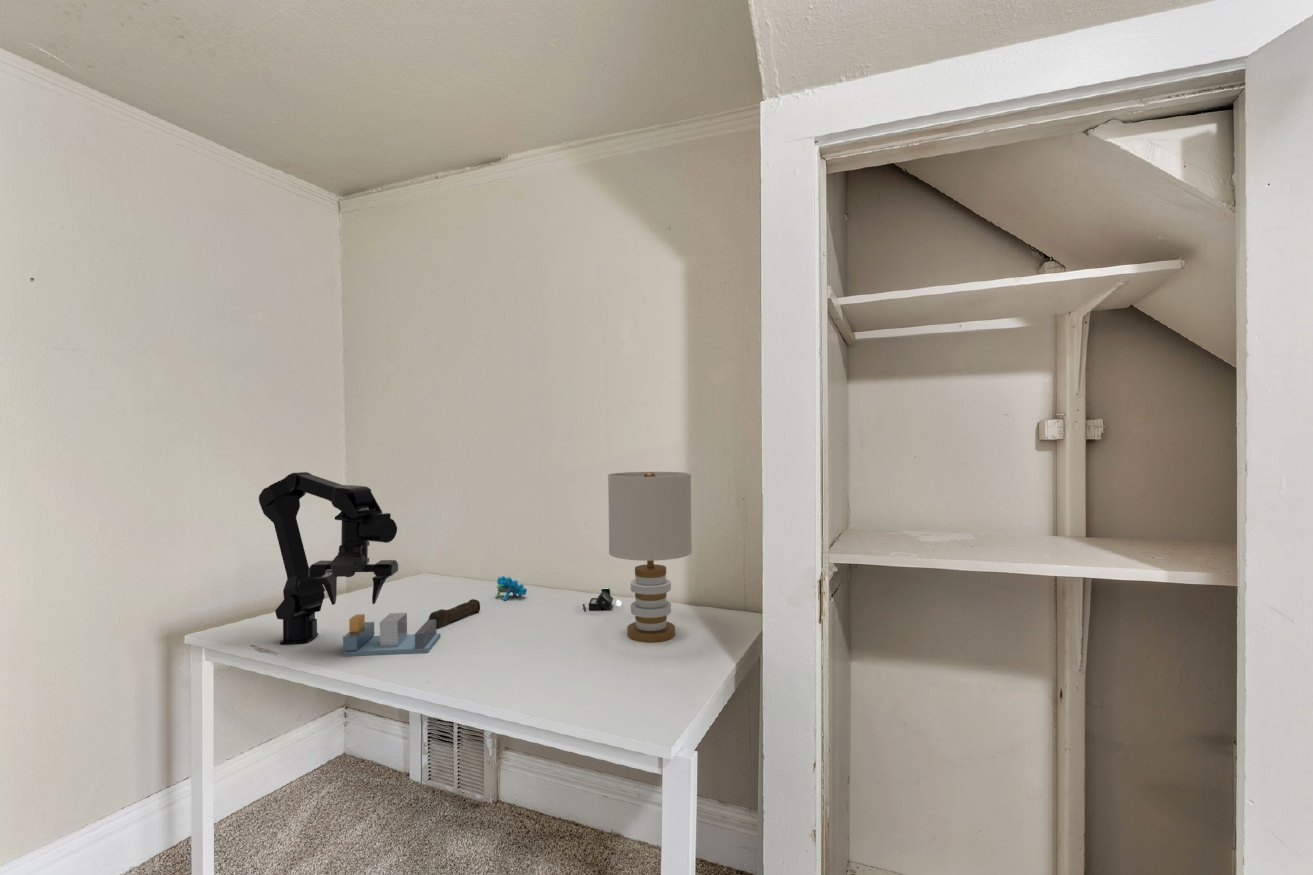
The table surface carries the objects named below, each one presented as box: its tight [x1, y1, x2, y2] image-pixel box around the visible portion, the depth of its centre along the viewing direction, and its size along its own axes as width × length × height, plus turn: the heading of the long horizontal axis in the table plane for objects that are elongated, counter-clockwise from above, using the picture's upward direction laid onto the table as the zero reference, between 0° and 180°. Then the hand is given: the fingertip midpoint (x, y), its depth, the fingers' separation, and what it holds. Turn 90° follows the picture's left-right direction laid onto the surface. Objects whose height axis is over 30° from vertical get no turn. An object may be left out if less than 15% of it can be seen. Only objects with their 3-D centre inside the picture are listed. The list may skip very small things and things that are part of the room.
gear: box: [494, 575, 528, 601], centre depth 188 cm, size 11×6×10 cm
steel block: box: [379, 612, 408, 647], centre depth 146 cm, size 4×7×6 cm, turn 6°
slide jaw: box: [342, 613, 375, 652], centre depth 145 cm, size 3×11×6 cm, turn 6°
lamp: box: [607, 471, 693, 643], centre depth 152 cm, size 21×21×41 cm
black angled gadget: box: [582, 587, 622, 613], centre depth 176 cm, size 15×15×6 cm
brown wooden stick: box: [427, 598, 481, 630], centre depth 165 cm, size 19×4×5 cm, turn 156°
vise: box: [342, 619, 441, 657], centre depth 145 cm, size 19×11×4 cm, turn 96°
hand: (353, 604), depth 145 cm, fingers open, 9 cm apart
